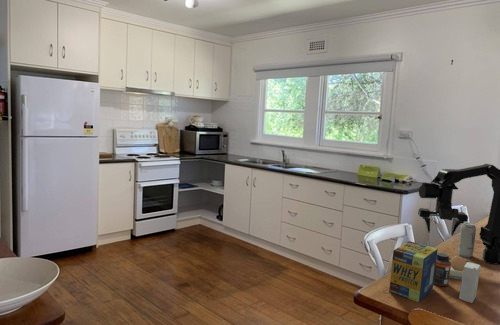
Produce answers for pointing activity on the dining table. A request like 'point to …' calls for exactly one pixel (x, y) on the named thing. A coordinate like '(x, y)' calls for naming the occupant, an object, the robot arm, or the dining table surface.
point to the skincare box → (469, 282)
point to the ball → (458, 263)
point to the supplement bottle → (442, 270)
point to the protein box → (413, 270)
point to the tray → (456, 274)
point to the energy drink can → (467, 239)
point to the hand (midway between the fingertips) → (440, 233)
